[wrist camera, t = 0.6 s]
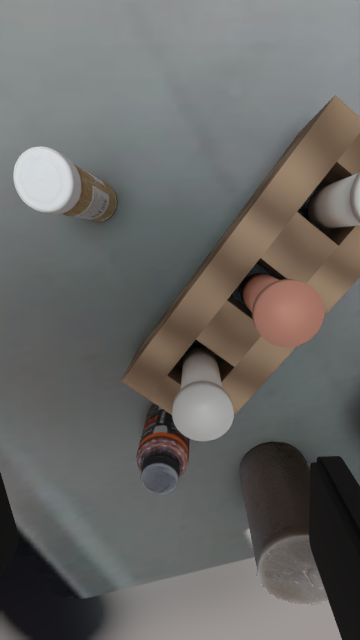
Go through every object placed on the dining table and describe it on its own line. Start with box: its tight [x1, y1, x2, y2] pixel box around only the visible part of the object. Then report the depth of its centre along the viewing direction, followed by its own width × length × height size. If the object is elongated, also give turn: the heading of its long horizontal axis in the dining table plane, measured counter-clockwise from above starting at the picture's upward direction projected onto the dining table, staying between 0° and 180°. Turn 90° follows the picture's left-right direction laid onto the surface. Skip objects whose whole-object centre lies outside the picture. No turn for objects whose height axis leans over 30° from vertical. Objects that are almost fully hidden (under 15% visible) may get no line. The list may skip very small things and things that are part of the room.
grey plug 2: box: [307, 171, 360, 229], centre depth 23 cm, size 5×5×10 cm
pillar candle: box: [240, 442, 328, 605], centre depth 36 cm, size 10×10×15 cm
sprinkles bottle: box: [14, 146, 117, 222], centre depth 28 cm, size 5×5×13 cm
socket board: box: [122, 95, 360, 441], centre depth 33 cm, size 32×12×8 cm, turn 144°
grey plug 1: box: [172, 347, 234, 441], centre depth 28 cm, size 5×5×10 cm
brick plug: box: [241, 273, 324, 347], centre depth 26 cm, size 5×5×10 cm
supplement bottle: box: [137, 404, 189, 494], centre depth 36 cm, size 6×6×11 cm
